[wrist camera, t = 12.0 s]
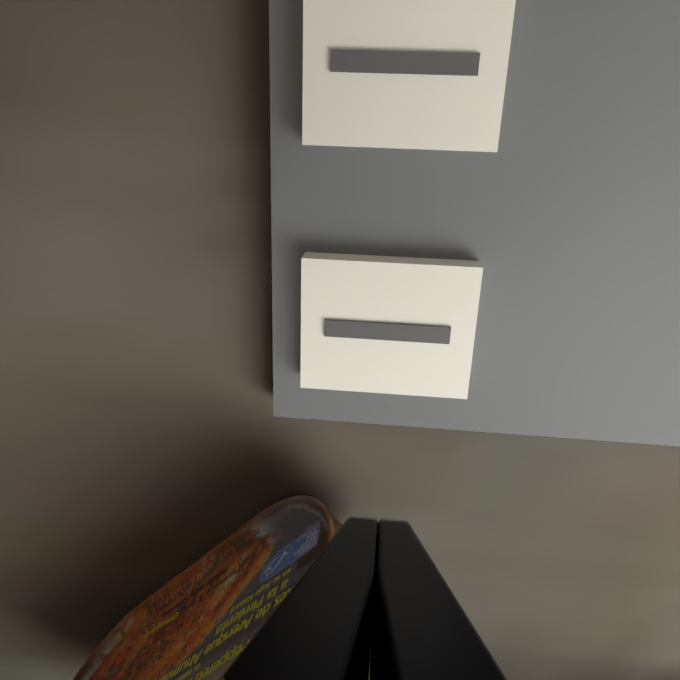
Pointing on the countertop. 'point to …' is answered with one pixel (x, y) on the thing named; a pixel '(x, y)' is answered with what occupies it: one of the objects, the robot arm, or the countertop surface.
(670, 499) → the countertop surface
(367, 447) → the countertop surface
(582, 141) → the label board
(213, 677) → the tin
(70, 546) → the countertop surface
